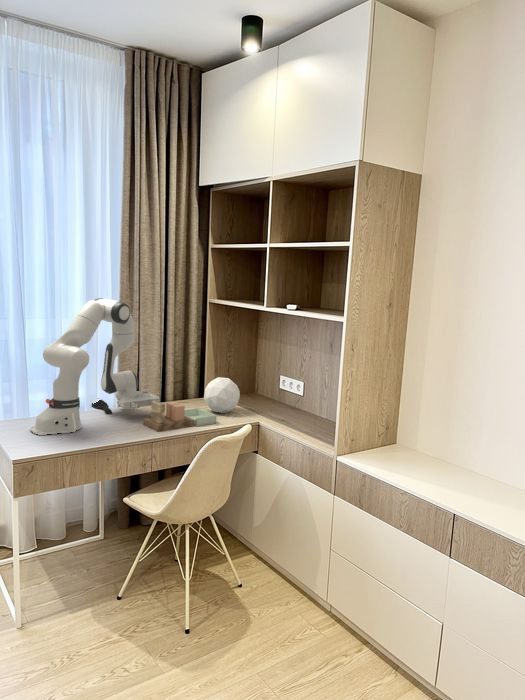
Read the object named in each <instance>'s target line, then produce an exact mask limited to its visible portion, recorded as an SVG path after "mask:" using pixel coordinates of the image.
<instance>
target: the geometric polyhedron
mask: <svg viewBox="0 0 525 700" xmlns="http://www.w3.org/2000/svg"><path fill="white" fill-rule="evenodd" d="M240 393H241V392H240V389H239V387H238V385H237V384H236V383H235V382H234V381H233V380H232V379H230V378H228V377H221V376H219V377H216V378H214V379H212V380H211V381H210V382H208V383H207V385H206V387H205V389H204V395H203V400H204V402H205V403H206V405H207V407H208V408H209V409H210V410H212V411H213V412H214V413H218V412H219V414H227V413H229V412H230V411H232V410H234V409H235V408H236V407H237V404H238V403H239V400H240V396H241V394H240Z"/></svg>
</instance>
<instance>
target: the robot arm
mask: <svg viewBox="0 0 525 700" xmlns="http://www.w3.org/2000/svg"><path fill="white" fill-rule="evenodd" d="M133 319H134V318H133V317H132V313H131V310H130V307H129V305H128V304H127V303H126V302H124V301H118V300H115V299H112V298H101V297H100V298H95V299H94V300H93V299H92V300H88V301H87V302H86V303H85V304H84V305H83V306H82V308H80V310H78V312H77V314H76V316H75V317H74V319H73V320H72V322H71V323H70V325H69V327H68V328H67V329H66V330H65V332H64V333H62V335H61V336H59V337H58V338H57V339H56V340H55V341H54V342H52V343H51V344H48V345H46V346H45V348H44V349H43V352H42V358H43V360H44V361H45V362H46V363H47V364H49V365H50V366H51V367H56V368H59V373H58V376H57V378H55V379H54V380H53V383H52V384H53V385H52V386H53V387H52V393H53V394H52V395H53V396H52V398H51V399H50V398H46V399H45V403H46V404H48V406H47V408H45V409H44V410H43V411H42V412H40V413H39V414H38V415H37V416H36V418H35V425H31V426H30V428H29V431H30V430H31V431H32V432H33V433H32V432H31V431H30V432H31V433H32V434H34V433H35V434H34V435H36V434H38V435H37V436H48V435H47V434H52V435H58V434H57V433H62V434H69V433H70V432H73V433H76V432H77V431H78V430H81V429H82V428H83V424H82V420H81V415H80V405H81V401H80V397H79V395H80V391H79V390H80V389H79V385H80V379H81V375H82V373H83V371H84V370H85V369H86V368H87V367H88V364H89V363H90V354H89V352H87V350H85V349H83V348H81V347H83V346H85V344H88V343H89V342H90V341H91V340H92V339H93V336H94V334H95V333H96V331H97V329H98V327H99V326H100V324H101V322H102V321H105V322H108V323H111V324H112V325H111V333H112V334H111V339H110V342H109V343H108V344H107V345H106V347H105V352H104V361H103V371H102V376H101V380H100V387H101V389H102V391H103V392H105V393H107V394H108V395H111V394H114V395H115V398H116V400H117V401H116V403H117V404H118V405H119V406H120V408H122V409H125V410H126V409H139V408H141V407H148V406H151V401H159V402H161V400H160V396H158V395H156V394H154V393H152V392H151V391H150V392H149V391H140V390H139V391H138V387H139V379H138V376H137V374H136V373H135V372H134V371H133V370H131V369H129V370H124V371H123V370H122V371H119V372H114V367H115V360H116V358H117V357H118V356H119V355H120V354H121V353H123V352H125V351H126V350H128V349H130V348H131V347H132V346H133V345H134V343H135V337H136V335H135V324H134V320H133ZM76 430H77V431H76ZM75 431H76V432H75ZM70 434H71V433H70Z"/></svg>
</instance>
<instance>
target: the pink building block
mask: <svg viewBox="0 0 525 700" xmlns="http://www.w3.org/2000/svg"><path fill="white" fill-rule="evenodd" d="M185 406H186V405H184V404H181V403H179V404H177V405H171V419H172V420H174V421H179V420H184V411H185V410H186V409H185V408H186V407H185Z"/></svg>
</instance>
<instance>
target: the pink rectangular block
mask: <svg viewBox="0 0 525 700" xmlns="http://www.w3.org/2000/svg"><path fill="white" fill-rule="evenodd" d="M177 404H180V403H179V402H176V401H173V402H172V401H171V402H166V403H165V415H166V417H168V418H170V419H171V405H177Z"/></svg>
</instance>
